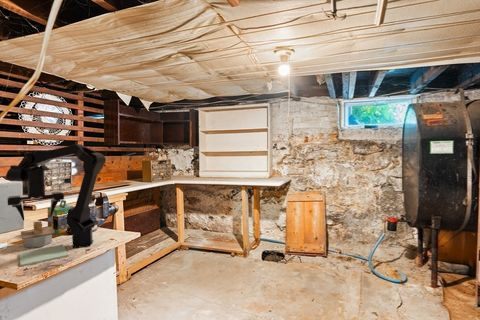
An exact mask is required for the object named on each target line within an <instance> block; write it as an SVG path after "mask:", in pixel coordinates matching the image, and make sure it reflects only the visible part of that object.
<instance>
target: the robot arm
mask: <svg viewBox="0 0 480 320" xmlns="http://www.w3.org/2000/svg"><path fill="white" fill-rule="evenodd" d="M69 156H76V158H77V159H78V160H79V161H81V162H82V169H83V172H84V173H83V178H82V182H81V185H80V189H79V191H78V195H77V198H76V203H75V205H74V206H73V207H74V208H71V209H69V210H68V214H67V217H66V218H65V219H67V221H66V222H67V224H68V226H69V228H70V231H69V232H70V233H71V234H72V239H71V240H72V241H71V242H72V248H73V249H74V248H86V247H91V245H92V244H93V243H94V239H93V228H94V227H95V226H96V222H95V221H94V220H93V218H91V217H90V216H91V211H90V206H89V205H90V201H91V199H92V195H93V192H94V188H95V184H96V181H97V178H98V175H99V173H100V172H101V171H102V170H103V168H104V165H105V164H106V160H107V159H106V157H105V155H104V154H103V153H100V152H98V151H97V152H96V151H95V150H93V149H91V148H88V147H86V146H85V145H83V144H81V143H78V144H77V143H73V144H71V145H66V146H62V147H59V148H54V149H53V148H52V149H49V150H43V151H42V150H39V151H26V152H25V153H24V155H23V158H22V159H21V161H20V162H19V164H18V165H17V164H15V165H14V164H12V165H10V168H9V169H8V170H7V172H6V173H5V175H6V177H5V178H6V180H8V181H9V182H27V186H23V187H22V195H24V196H22V197H21V196H20V195H12V196H8V197H7V199H6V200H7V206H11V207H12V208H16V210H17V211H18V213H19V215H20V216H21V217H20V218H21V220H22V221H25V214H24V209H23V205H22V203H24V202H34V201H42V200H50V207H51V208H50V207H49V208H50V217H52V214H53V211H54V209H55V207H56V206H57V205H58V203H61V200H65V194H64V193H63V192H62V191H55V192H51V194H46V189H45V188H46V186H45V184H46V183H45V172H46V171H50V168H49V167H48V166H46V164H47V163H50V162H51V161H53V160H56V159H61V158H65V157H69ZM25 195H27V196H25Z"/></svg>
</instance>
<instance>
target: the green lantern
mask: <svg viewBox="0 0 480 320" xmlns="http://www.w3.org/2000/svg"><path fill="white" fill-rule="evenodd" d="M59 203H60V204H59V205H58V206H57V205H56V207H55V209H54V211H53V214H52V217H50V208H51V206H50V207H47V227H53V216H57V215H62V214H67V213H68V210H69V209H71V208H72V207H74V206H73V205H70V204H69V205H68V204H67V200H65V199H63V200H61V202H59ZM54 231H55V234H54V235H58V234H61V233H66V231H67V229H60V230H54ZM67 232H68V231H67Z"/></svg>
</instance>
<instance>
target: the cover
mask: <svg viewBox="0 0 480 320" xmlns="http://www.w3.org/2000/svg"><path fill="white" fill-rule="evenodd" d="M20 235H21V236H20V237H21V240H22V241H24V239H29V238H35V237H41V236H47V235H52V236H53V235H56V234H55V231H54V229H53V227H48V226H47V227H43V222H42V221H41V220H40V221H39V220H38V221H33V229H29V230H23V231H20Z"/></svg>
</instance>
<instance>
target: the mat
mask: <svg viewBox="0 0 480 320" xmlns="http://www.w3.org/2000/svg"><path fill="white" fill-rule="evenodd" d="M66 257H69V253H68V252H67V250H66V248H65V246H64V244H62V243H61V244H58V245H53V246H47V247H42V248H37V249H32V250H26V251H22V252H19V264H20V267H21V268H22V267H25V266H29V265H30V266H31V265H34V264H39V263H44V262H49V261H53V260H58V259H62V258H66Z"/></svg>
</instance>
